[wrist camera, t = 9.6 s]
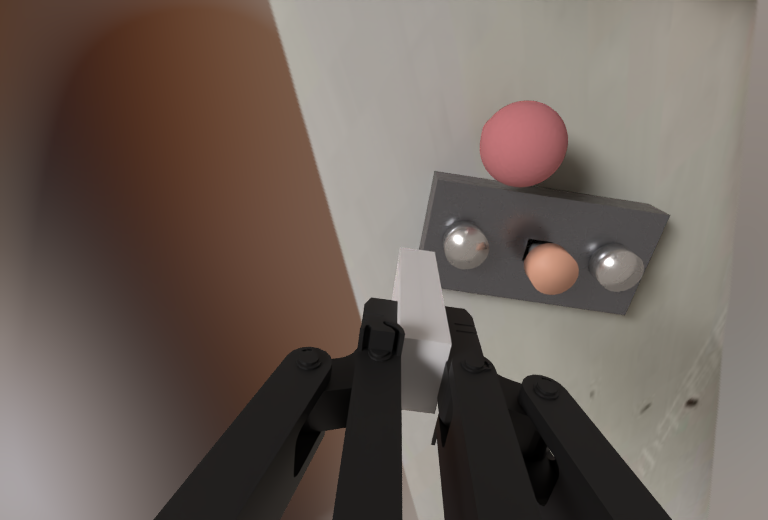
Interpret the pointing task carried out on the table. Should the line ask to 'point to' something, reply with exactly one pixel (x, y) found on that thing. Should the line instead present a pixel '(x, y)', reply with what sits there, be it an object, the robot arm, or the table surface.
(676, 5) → the table surface
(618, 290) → the knob
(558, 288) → the knob
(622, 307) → the mount plate
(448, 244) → the knob
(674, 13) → the table surface
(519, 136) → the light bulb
